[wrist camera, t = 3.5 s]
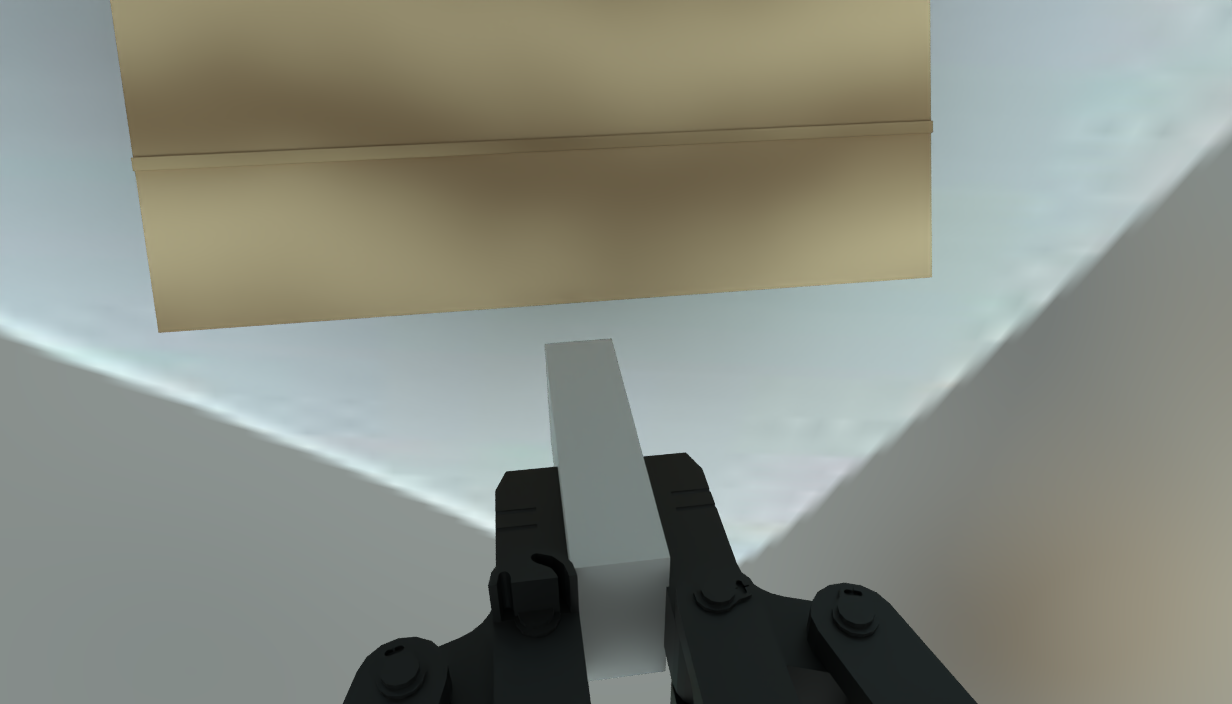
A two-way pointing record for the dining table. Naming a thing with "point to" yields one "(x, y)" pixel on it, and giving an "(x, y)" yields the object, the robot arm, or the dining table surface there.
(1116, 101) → the dining table surface
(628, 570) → the robot arm
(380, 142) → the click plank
